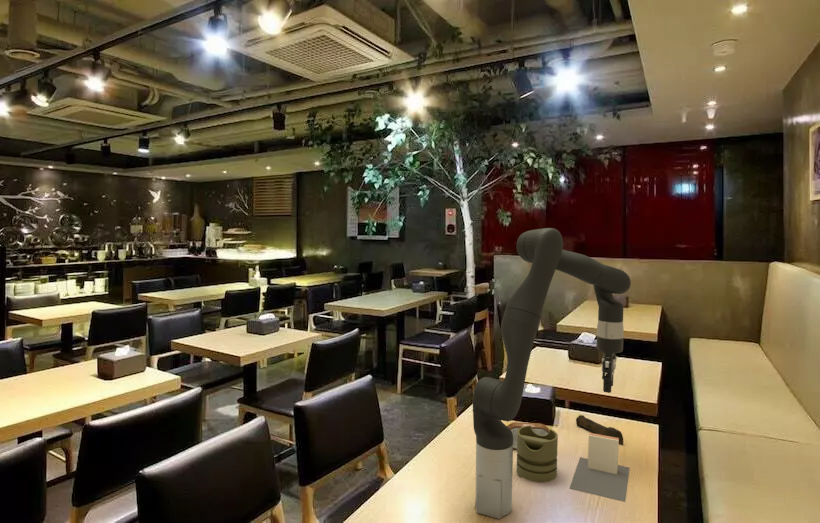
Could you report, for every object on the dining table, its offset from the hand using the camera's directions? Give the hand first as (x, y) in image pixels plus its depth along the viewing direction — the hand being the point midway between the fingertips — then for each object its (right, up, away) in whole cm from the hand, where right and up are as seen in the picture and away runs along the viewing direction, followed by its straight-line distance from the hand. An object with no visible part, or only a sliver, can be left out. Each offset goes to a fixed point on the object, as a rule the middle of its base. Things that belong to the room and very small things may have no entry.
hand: (608, 388), depth 152 cm
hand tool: (+4, -21, +17) cm, 27 cm away
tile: (-5, -22, -7) cm, 24 cm away
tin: (-23, -21, +7) cm, 32 cm away
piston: (-24, -23, -8) cm, 34 cm away
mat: (-7, -23, -12) cm, 26 cm away
